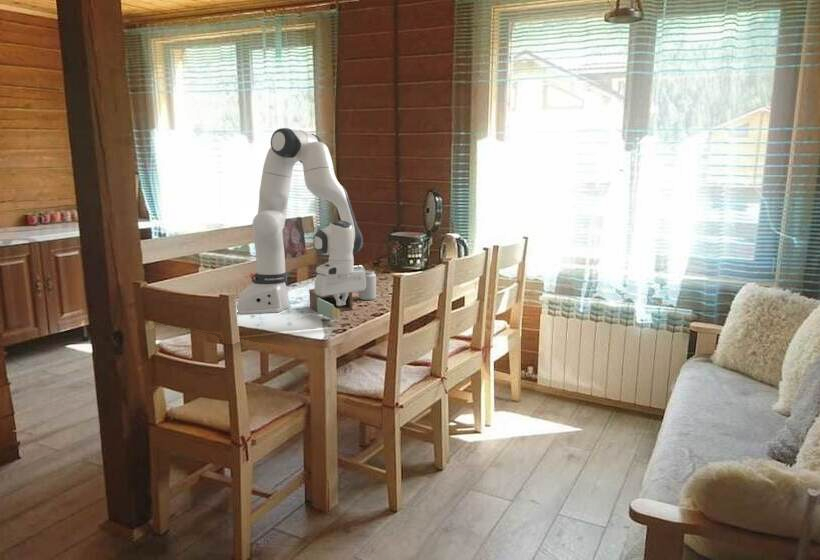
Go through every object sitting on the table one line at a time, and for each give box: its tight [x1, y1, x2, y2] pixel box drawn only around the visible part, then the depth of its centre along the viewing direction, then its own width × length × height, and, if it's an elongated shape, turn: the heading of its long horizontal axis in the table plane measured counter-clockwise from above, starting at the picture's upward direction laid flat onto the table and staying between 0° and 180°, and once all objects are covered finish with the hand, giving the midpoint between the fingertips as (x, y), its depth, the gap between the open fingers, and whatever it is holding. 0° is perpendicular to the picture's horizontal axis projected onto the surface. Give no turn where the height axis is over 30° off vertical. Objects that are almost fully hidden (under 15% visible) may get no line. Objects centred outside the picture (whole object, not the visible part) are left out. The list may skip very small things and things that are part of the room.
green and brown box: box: [308, 288, 353, 314], centre depth 248 cm, size 14×12×7 cm
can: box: [358, 269, 377, 301], centre depth 265 cm, size 8×8×12 cm
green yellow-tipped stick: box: [316, 298, 341, 320], centre depth 231 cm, size 19×1×5 cm, turn 30°
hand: (341, 305), depth 225 cm, fingers closed
